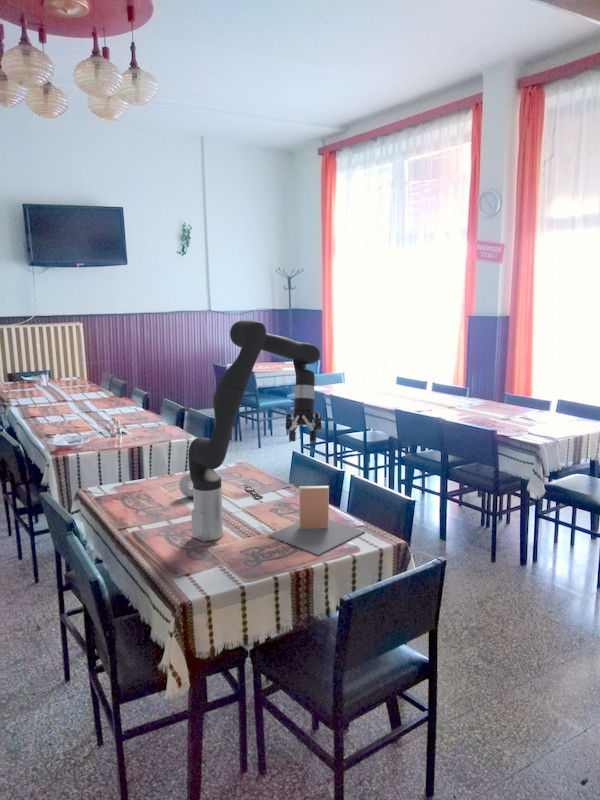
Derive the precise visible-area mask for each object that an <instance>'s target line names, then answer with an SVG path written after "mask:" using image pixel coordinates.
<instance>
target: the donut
mask: <svg viewBox="0 0 600 800" xmlns="http://www.w3.org/2000/svg"><path fill="white" fill-rule="evenodd" d="M190 482H192V480H191V478H190V471H189V472H187V473H185V474H183V476H182V477H181V478H180V481H179V484H178V486H179V490H180V493H181V494H182V495H184V496H186V497H188V498H191V497H193V487H189V483H190Z"/></svg>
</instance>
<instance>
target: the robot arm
mask: <svg viewBox="0 0 600 800" xmlns="http://www.w3.org/2000/svg"><path fill="white" fill-rule="evenodd" d="M229 337H230V340H231V342H232V343H233V344H234V345H235V346H236V347H239V348H241V349H240V351H239V353H238V355H237V358H235V360H234V362H233V363H232V364H231V365H230V366H229V367H228V368H227V369H225V372H224V373H223V374H222V375H221V376H220V378H219V380H218V382H217V385H216V388H215V391H214V394H213V399H212V404H213V405H212V406H213V412H214V426H213V430H212V433H211V436H210V437H209V438H207V437H203V436H201V437H197V438H195V439H193V441H192V442H191V443H190V445H189V447H188V468H189V472H190V478H191V480H192V481H191V482H192V488H193V509H191V510H190V511H191V513H190V514H191V531H192V532H191V534H192V535H191V536H192V538H194V539H195V540H199V541H200V542H203V543H206V542H213V541H216V540H217V541H218V540H219V539H221V538H222V537H223V534H224V532H223V528H224V527H223V500H222V499H223V498H222V497H223V494H222V489H223V488H222V478H221V476H220V475H219V474H218V473H217V472H216V471H215V470H216V469H218V468H220V467H221V465H222V464H223V463H224V460H225V459H226V455H227V452H228V448H229V444H230V439H231V435H232V431H233V428H234V425H235V421H236V418H237V415H238V412H239V409H240V406H241V404H242V401H243V398H244V395H245V392H246V389H247V386H248V383H249V381H250V377H251V375H252V371H253V370H254V367H255V364H256V363H257V361H258V358H259V356H260V353H261V351H264V352H267V353H271V354H273V355H276V356H279V357H281V358H284V359H289V360H292V364H293V368H294V373H295V388H294V393H293V394H294V398H293V400H294V401H293V410H294V412H293V413H286V419H285V430H288V431H289V440H290V442H296V440H297V439H296V433H297V429H298V428H299V427H300V426H307V427H308V428H309V430H310V433H309V441H310V442H312V443H314V442H315V441H316V440H317V432H318V431H320V430H322V414H321V413H319V412H315V413H314V411H315V398H316V397H315V393H316V391H315V372H314V371H313V370H311V369H307V365H311V364H316V363H317V362H318V361H319V360H320V357H321V352H320V349H319V348H318V346H316V345H315V344H312V343H309V342H300V341H296V340H295V339H294V340H293V339H291V338H288V337H286V336H282V335H277V334H273V333H268V332H267V329H266V325H264V323H263V322H262V321H259V320H239V321H236V322H235V323H233V324H232V326H231V327H230V331H229ZM313 420H314V421H313Z"/></svg>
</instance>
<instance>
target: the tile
mask: <svg viewBox="0 0 600 800" xmlns="http://www.w3.org/2000/svg"><path fill="white" fill-rule="evenodd" d="M329 501H330V486H329V485H302V486H301V485H300V486H298V522H299V529H315V528H329V520H330V519H329V518H330V517H329V516H330V515H329V514H330V513H329V512H330V503H329Z"/></svg>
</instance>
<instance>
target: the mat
mask: <svg viewBox="0 0 600 800" xmlns="http://www.w3.org/2000/svg"><path fill="white" fill-rule="evenodd" d="M365 533H366V531H365V530H362V529H359V528H356V527H354V526H350V525H347V524H345V523H341V522H338V521H334V520H332V519H329V528H315V529H299V521H298V522H296V523H294V524H291V525H289V526H287V527H283V528H282V529H279V530H277V531H275V532H272V533H269V534H268V535H267V537H269V536H271V537H273V538H272V539H274V538H276V539H278V540H277V541H279V540H280V541H279V542H281V541H283V542H282V543H284V542H286V543H285V544H287V543H288V544H287V545H289V544H290V545H289V546H292V545H293V546H292V547H294V546H296V547H295V548H297V547H298V548H297V549H299V548H300V550H302V549H303V550H302V551H304V552H307V551H308V553H310V554H311V555H316V556H317V557H318V556H319V557H320V556H321V555H323V554H326V553H327V552H329V551H331V550H334V549H335V548H337V547H339V546H341V545H343V544H345V543H348V542H349V541H351V540H353V539H355V538H357V537H359V536H361V535H364V534H365ZM271 537H270V538H271ZM276 539H275V540H276Z"/></svg>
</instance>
